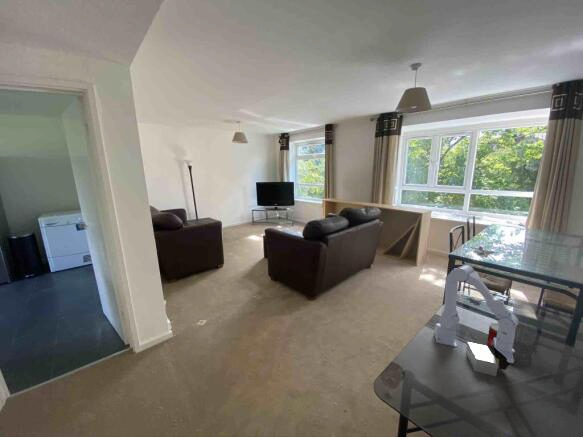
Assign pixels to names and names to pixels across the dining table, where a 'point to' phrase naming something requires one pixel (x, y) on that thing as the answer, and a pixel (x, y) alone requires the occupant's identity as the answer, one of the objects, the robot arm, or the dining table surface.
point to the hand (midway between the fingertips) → (500, 365)
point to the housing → (481, 359)
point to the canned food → (492, 333)
